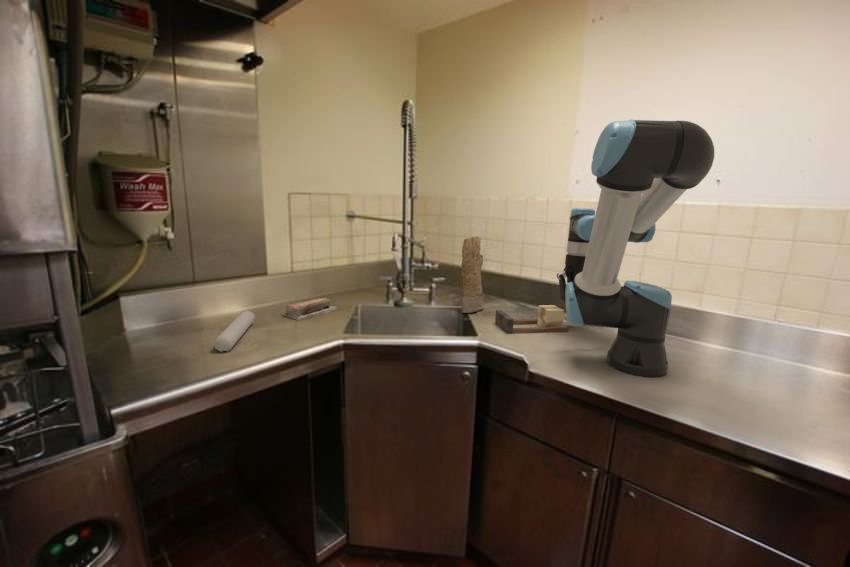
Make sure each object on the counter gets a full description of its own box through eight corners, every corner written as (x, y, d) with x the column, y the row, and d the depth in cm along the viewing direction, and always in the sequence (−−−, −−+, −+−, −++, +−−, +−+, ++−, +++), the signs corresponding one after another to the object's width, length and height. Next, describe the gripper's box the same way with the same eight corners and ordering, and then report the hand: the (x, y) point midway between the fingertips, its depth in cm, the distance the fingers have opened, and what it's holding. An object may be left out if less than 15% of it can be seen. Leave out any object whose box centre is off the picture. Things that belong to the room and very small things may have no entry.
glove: (485, 315, 154) (491, 238, 148) (458, 313, 155) (463, 237, 148) (482, 306, 168) (487, 235, 161) (457, 304, 168) (461, 234, 162)
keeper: (561, 329, 137) (564, 310, 135) (545, 330, 135) (547, 310, 134) (552, 324, 143) (554, 305, 141) (537, 324, 141) (539, 305, 140)
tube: (234, 340, 108) (257, 313, 132) (214, 334, 107) (240, 308, 131) (228, 357, 109) (252, 327, 133) (208, 352, 108) (236, 323, 132)
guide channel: (568, 335, 134) (570, 318, 133) (507, 337, 130) (508, 320, 129) (550, 324, 146) (552, 308, 145) (494, 326, 141) (495, 309, 140)
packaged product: (299, 308, 138) (280, 304, 143) (300, 322, 139) (281, 316, 144) (337, 298, 153) (318, 294, 158) (337, 311, 154) (319, 306, 159)
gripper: (588, 252, 140) (580, 317, 145) (554, 252, 137) (547, 317, 142) (601, 256, 133) (592, 323, 138) (566, 255, 130) (558, 324, 135)
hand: (569, 320), depth 140 cm, fingers closed
